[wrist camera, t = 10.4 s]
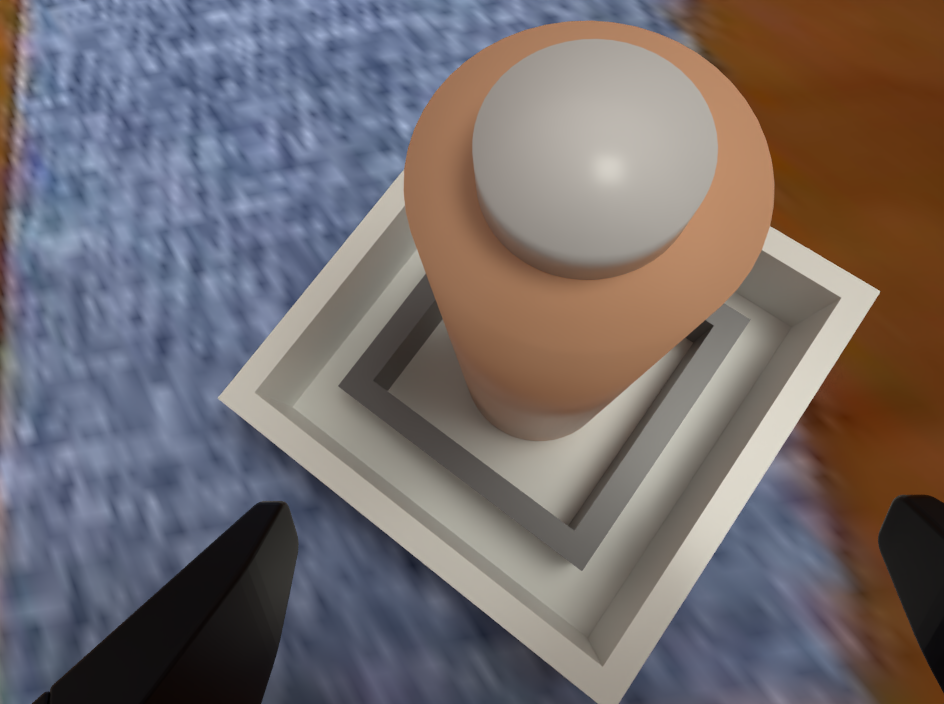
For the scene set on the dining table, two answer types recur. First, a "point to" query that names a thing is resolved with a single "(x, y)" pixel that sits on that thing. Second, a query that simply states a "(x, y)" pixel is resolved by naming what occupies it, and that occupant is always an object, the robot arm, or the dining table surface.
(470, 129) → the peach bottle
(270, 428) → the walled box
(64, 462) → the dining table surface
